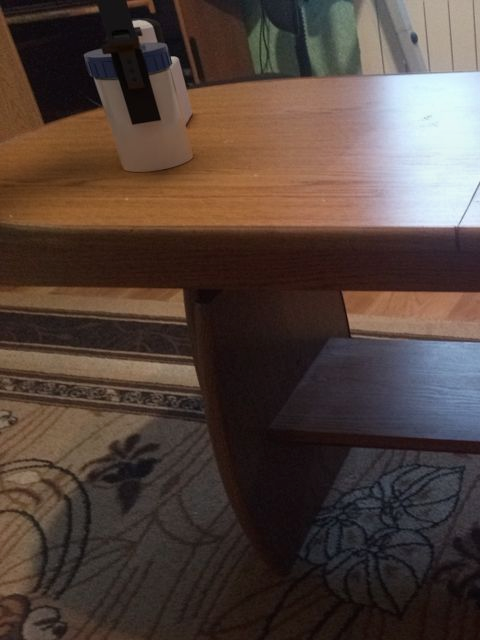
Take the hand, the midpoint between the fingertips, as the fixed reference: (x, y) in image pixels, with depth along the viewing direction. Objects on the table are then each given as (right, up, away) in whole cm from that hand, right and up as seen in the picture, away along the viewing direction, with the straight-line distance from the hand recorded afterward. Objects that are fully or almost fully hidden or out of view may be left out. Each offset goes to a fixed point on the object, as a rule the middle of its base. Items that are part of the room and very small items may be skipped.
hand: (144, 112), depth 75 cm
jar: (0, -4, +3) cm, 5 cm away
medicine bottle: (-5, +4, +17) cm, 18 cm away
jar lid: (0, +5, -3) cm, 6 cm away
